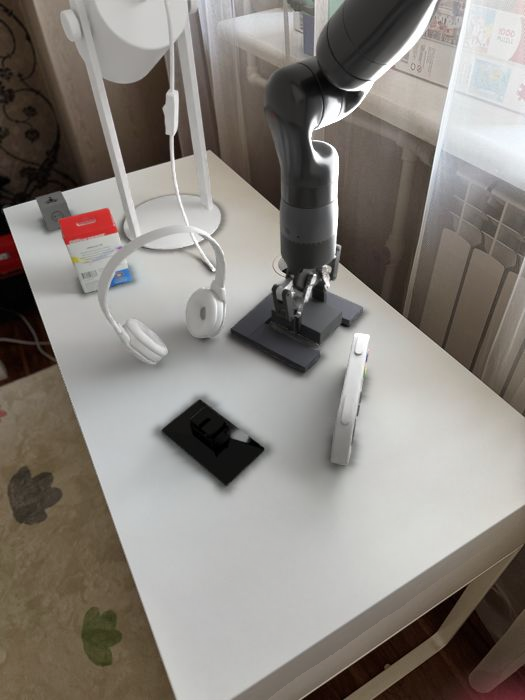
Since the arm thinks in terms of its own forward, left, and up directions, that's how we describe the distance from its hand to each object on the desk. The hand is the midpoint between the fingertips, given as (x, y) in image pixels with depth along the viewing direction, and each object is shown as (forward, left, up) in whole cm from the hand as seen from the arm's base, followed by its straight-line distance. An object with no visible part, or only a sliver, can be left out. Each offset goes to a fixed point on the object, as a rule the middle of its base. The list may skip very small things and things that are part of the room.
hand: (306, 318), depth 82 cm
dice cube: (+59, +4, -2) cm, 59 cm away
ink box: (+36, +11, -2) cm, 37 cm away
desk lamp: (+36, -9, -2) cm, 37 cm away
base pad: (+2, 0, -2) cm, 3 cm away
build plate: (-2, +25, -2) cm, 25 cm away
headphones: (+14, +15, -2) cm, 20 cm away
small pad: (0, 0, -1) cm, 1 cm away
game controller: (-14, +11, -2) cm, 18 cm away
